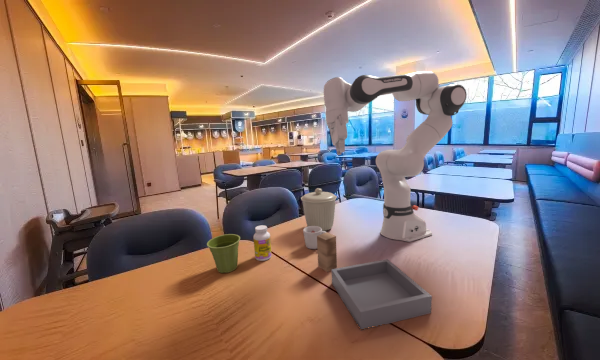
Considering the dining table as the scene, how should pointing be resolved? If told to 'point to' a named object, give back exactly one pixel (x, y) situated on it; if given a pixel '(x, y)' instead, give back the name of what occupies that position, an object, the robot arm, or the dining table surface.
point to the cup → (312, 236)
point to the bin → (380, 293)
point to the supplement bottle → (262, 243)
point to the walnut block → (327, 251)
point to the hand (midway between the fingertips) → (340, 153)
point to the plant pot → (225, 252)
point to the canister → (319, 209)
